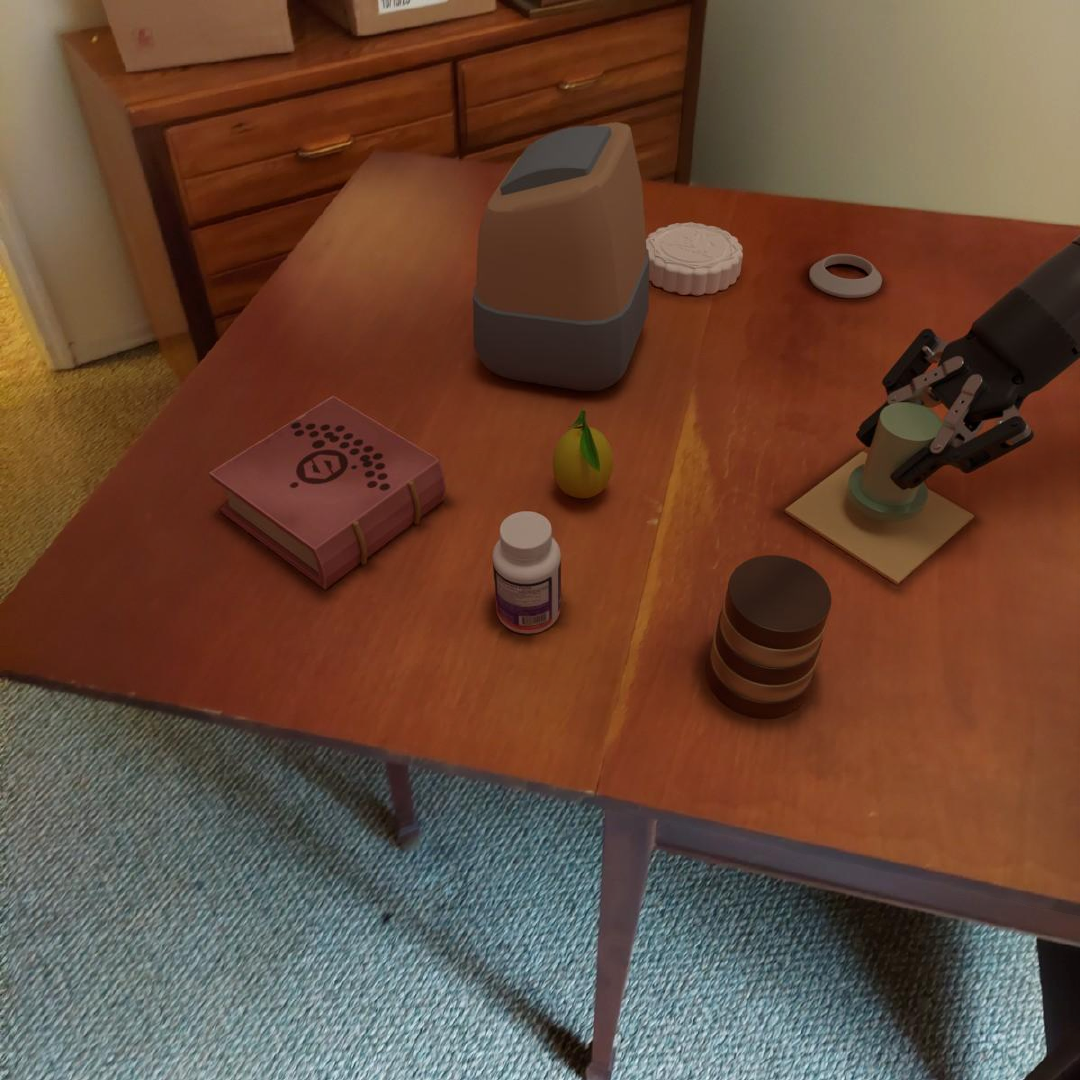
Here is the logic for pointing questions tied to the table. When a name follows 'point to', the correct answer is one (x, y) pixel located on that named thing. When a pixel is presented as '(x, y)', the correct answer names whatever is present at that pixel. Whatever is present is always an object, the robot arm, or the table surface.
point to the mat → (877, 526)
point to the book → (330, 489)
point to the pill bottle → (527, 573)
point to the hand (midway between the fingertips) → (879, 462)
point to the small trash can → (564, 262)
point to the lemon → (582, 460)
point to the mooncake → (693, 258)
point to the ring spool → (893, 463)
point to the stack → (768, 636)
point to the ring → (842, 285)
